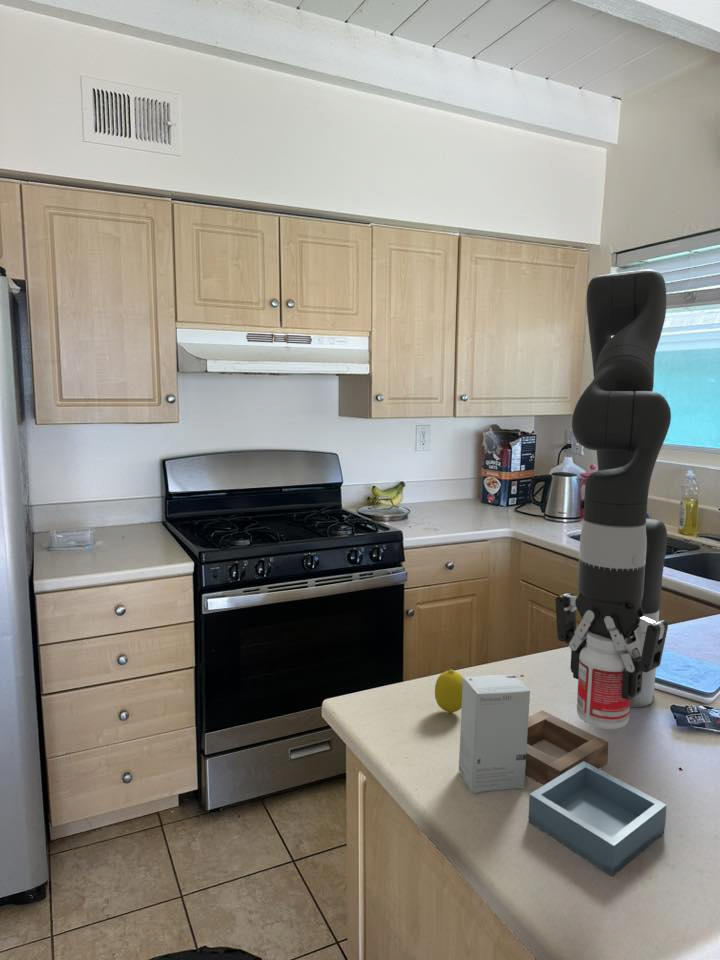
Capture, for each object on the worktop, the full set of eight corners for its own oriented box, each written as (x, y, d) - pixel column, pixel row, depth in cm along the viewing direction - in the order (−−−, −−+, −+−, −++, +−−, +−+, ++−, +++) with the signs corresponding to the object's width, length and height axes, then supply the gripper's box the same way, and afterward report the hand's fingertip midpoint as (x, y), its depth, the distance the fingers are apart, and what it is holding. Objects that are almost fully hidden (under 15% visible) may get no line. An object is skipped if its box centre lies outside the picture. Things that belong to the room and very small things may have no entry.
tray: (581, 787, 93) (583, 761, 92) (664, 833, 83) (666, 804, 83) (528, 821, 85) (529, 794, 85) (612, 876, 76) (614, 845, 75)
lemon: (430, 718, 111) (431, 673, 110) (439, 703, 116) (439, 660, 115) (462, 724, 109) (463, 679, 108) (469, 709, 114) (470, 666, 113)
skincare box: (471, 795, 91) (474, 695, 89) (457, 769, 97) (459, 675, 94) (527, 788, 92) (532, 689, 90) (510, 763, 98) (513, 670, 96)
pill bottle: (638, 721, 81) (645, 637, 79) (608, 736, 78) (613, 648, 76) (596, 701, 86) (601, 621, 84) (565, 714, 83) (570, 631, 81)
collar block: (541, 730, 108) (542, 710, 107) (607, 763, 98) (608, 742, 98) (492, 755, 100) (493, 734, 100) (558, 794, 91) (560, 771, 90)
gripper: (686, 565, 75) (675, 700, 78) (578, 540, 87) (571, 659, 89) (652, 577, 71) (642, 720, 73) (543, 550, 82) (537, 674, 85)
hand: (603, 686), depth 81 cm, fingers closed on pill bottle, 6 cm apart
